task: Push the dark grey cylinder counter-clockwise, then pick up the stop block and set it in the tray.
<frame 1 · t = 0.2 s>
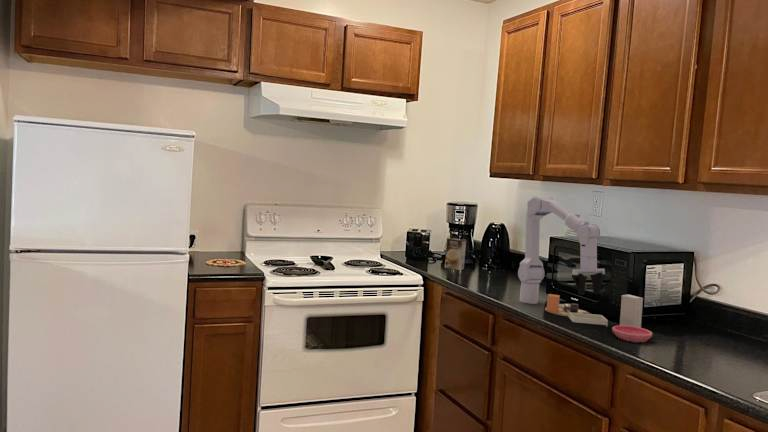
hand: (588, 294, 216), 10 cm above the worktop, tool pointing down, fingers open, 7 cm apart
crank plate: (567, 313, 228), on the worktop
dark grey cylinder: (568, 305, 228), point 3 cm above the worktop, hinge at 0.0°
tray: (587, 322, 215), on the worktop
pink bowl: (631, 339, 197), on the worktop
skincare box: (629, 330, 209), on the worktop
stop block: (552, 310, 227), point 1 cm above the worktop, touching crank plate
coffee box: (454, 268, 319), on the worktop
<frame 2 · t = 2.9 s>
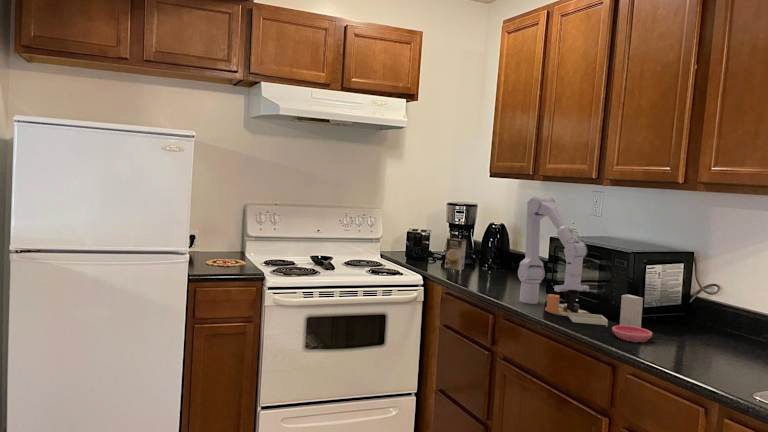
hand: (569, 310, 221), 3 cm above the worktop, tool pointing down, fingers closed, pressing on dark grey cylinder
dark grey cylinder: (568, 305, 228), point 3 cm above the worktop, hinge at 2.3°, touching gripper
everything else where it was.
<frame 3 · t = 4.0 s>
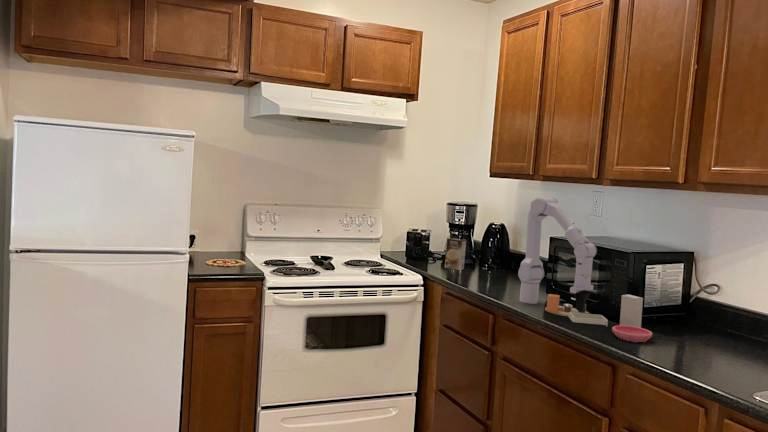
hand: (579, 310, 222), 3 cm above the worktop, tool pointing down, fingers closed, pressing on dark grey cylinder
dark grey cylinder: (568, 305, 228), point 3 cm above the worktop, hinge at 36.8°, touching gripper
everything else where it was.
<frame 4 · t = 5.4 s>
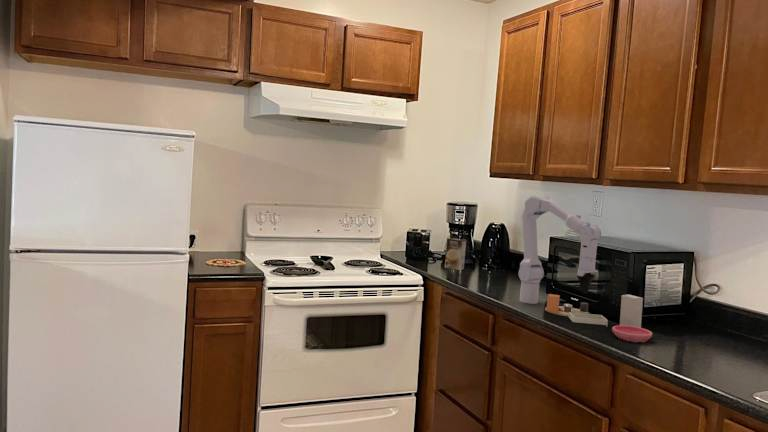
hand: (584, 292, 223), 9 cm above the worktop, tool pointing down, fingers closed
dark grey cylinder: (568, 305, 228), point 3 cm above the worktop, hinge at 57.2°
everything else where it was.
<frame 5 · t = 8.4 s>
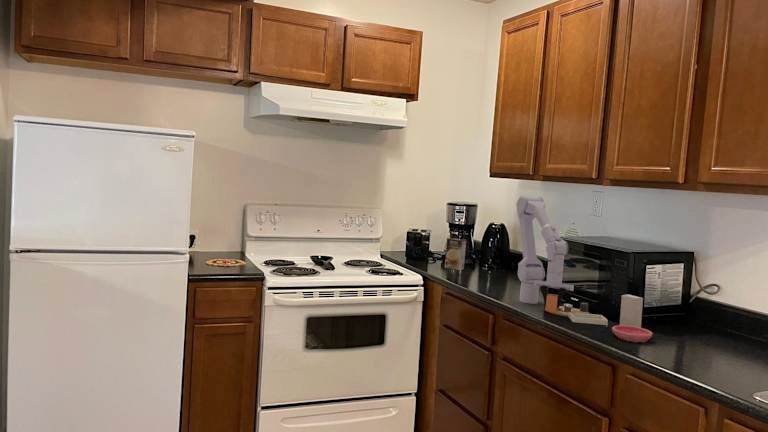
hand: (551, 306, 227), 2 cm above the worktop, tool pointing down, fingers closed on stop block, 4 cm apart
stop block: (551, 310, 227), point 1 cm above the worktop, touching crank plate, gripper
everything else where it was.
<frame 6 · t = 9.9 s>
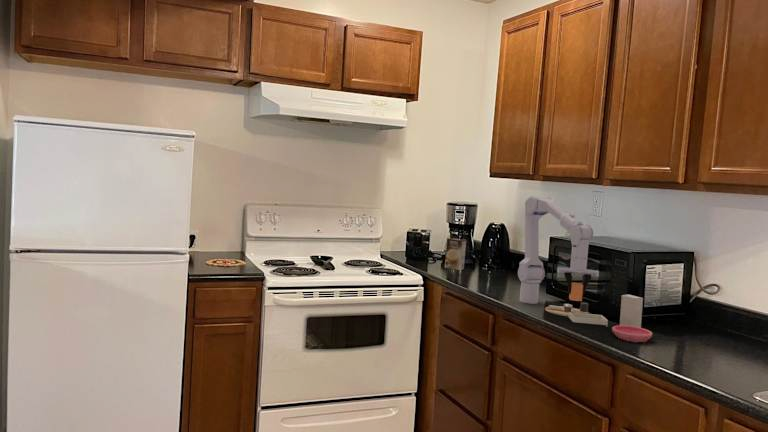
hand: (575, 293, 218), 10 cm above the worktop, tool pointing down, fingers closed on stop block, 4 cm apart
stop block: (575, 299, 218), point 7 cm above the worktop, touching gripper
everything else where it was.
when the fingers open (3 cm above the worktop, at t = 11.7 s): stop block stays where it is, resting on tray.
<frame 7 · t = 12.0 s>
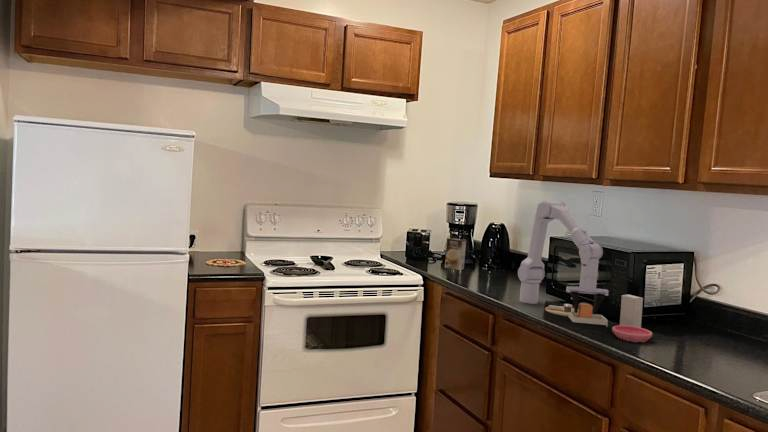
hand: (585, 313, 215), 3 cm above the worktop, tool pointing down, fingers open, 6 cm apart
stop block: (584, 321, 215), resting on tray
everything else where it was.
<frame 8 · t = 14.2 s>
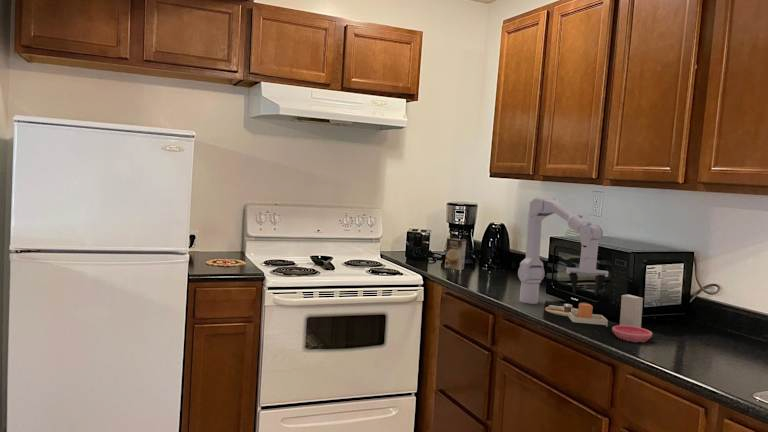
hand: (585, 294, 217), 10 cm above the worktop, tool pointing down, fingers open, 7 cm apart
nothing on the worktop moved.
at the end: stop block inside the target area on the tray (1.1 cm from its centre), point 0.5 cm above the tray's base; stop block tilted 0°; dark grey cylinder at +57° (first picture: +0°) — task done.
